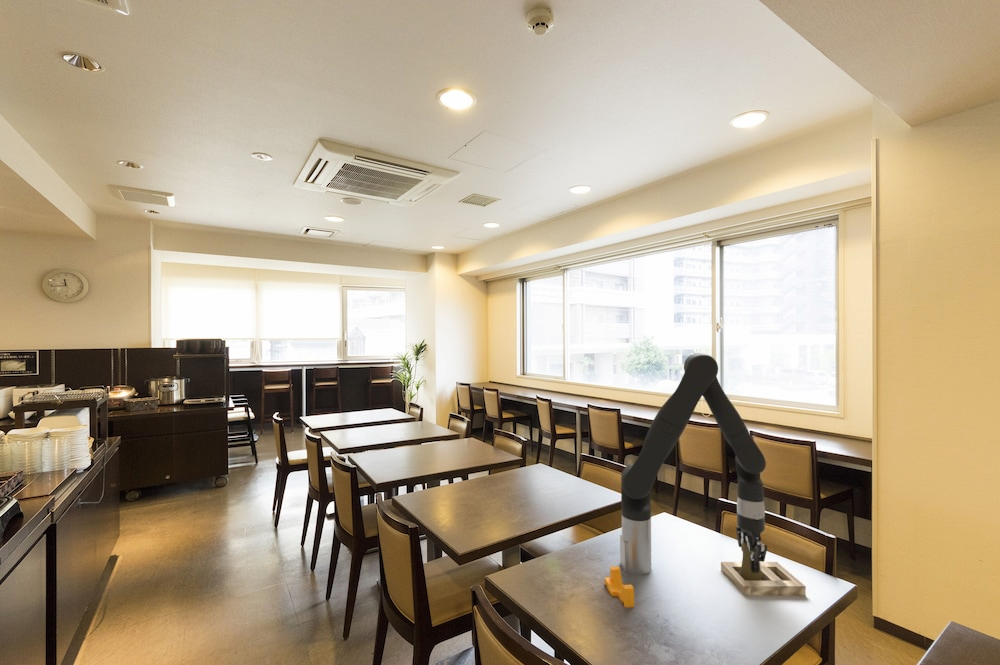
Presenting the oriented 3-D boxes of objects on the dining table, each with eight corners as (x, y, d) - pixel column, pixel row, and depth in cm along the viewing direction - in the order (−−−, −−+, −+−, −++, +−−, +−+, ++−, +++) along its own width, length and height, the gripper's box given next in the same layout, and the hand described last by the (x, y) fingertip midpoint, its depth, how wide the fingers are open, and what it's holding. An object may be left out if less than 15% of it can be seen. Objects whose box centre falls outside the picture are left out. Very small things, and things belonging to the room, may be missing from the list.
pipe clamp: (604, 588, 137) (604, 566, 137) (618, 587, 138) (618, 566, 138) (619, 612, 125) (619, 589, 125) (634, 611, 126) (634, 588, 126)
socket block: (743, 596, 132) (743, 586, 132) (720, 571, 146) (720, 561, 146) (805, 596, 132) (805, 586, 132) (776, 571, 146) (776, 561, 146)
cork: (743, 571, 143) (743, 536, 143) (765, 578, 139) (764, 542, 139) (737, 578, 139) (737, 543, 139) (758, 586, 135) (758, 549, 135)
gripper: (727, 503, 146) (727, 556, 146) (750, 522, 132) (751, 581, 132) (750, 503, 146) (750, 556, 146) (776, 522, 132) (777, 581, 132)
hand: (750, 567), depth 139 cm, fingers closed on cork, 4 cm apart
